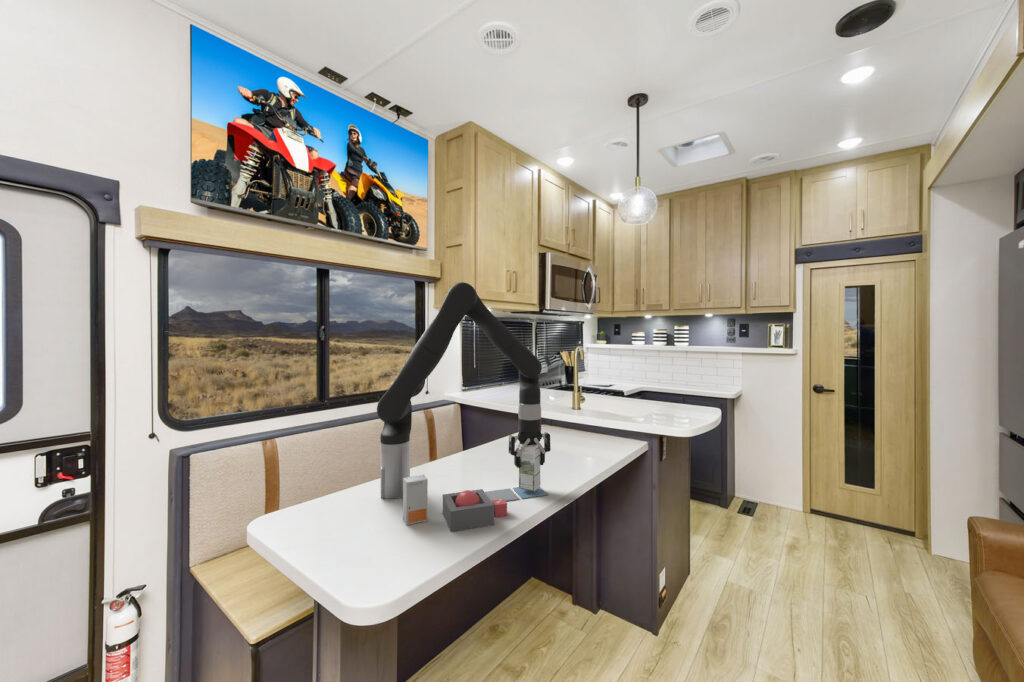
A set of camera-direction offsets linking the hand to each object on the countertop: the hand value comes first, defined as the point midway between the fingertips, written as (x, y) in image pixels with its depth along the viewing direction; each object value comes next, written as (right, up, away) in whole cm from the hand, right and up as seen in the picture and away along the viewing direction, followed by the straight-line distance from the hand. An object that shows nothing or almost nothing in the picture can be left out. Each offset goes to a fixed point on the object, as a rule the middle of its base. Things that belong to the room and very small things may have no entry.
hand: (529, 465), depth 134 cm
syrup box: (0, -7, 0) cm, 7 cm away
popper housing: (-16, -9, -18) cm, 26 cm away
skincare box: (-33, -9, -20) cm, 40 cm away
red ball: (-19, -8, -19) cm, 28 cm away
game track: (-9, -9, -3) cm, 13 cm away
